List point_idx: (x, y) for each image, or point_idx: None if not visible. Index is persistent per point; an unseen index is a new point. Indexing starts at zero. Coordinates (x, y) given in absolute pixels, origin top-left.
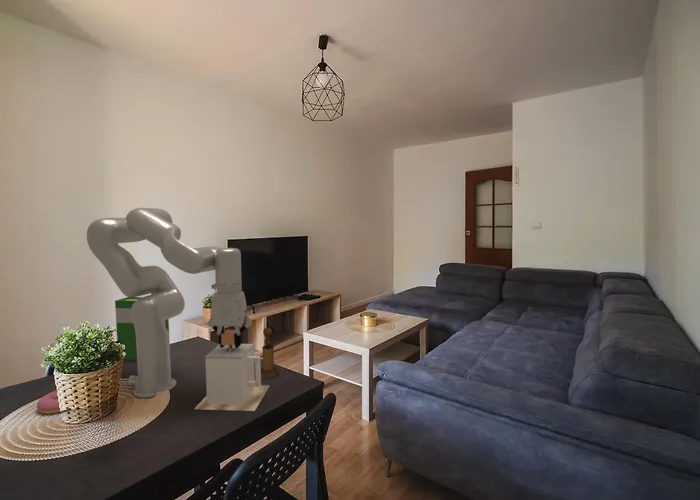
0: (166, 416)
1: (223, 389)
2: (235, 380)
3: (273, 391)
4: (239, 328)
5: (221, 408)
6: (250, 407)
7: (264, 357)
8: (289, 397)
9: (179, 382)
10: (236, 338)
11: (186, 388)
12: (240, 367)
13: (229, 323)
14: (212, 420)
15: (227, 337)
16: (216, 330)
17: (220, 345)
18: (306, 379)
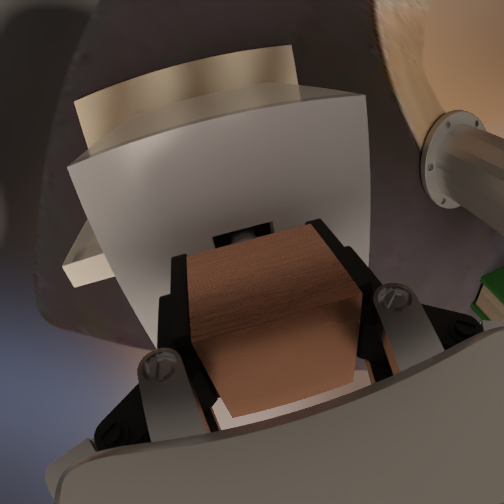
0: (353, 19)
1: (207, 98)
2: (146, 119)
3: None
4: (150, 427)
5: (195, 69)
6: (99, 112)
7: None
8: (46, 229)
9: (422, 204)
10: (173, 314)
11: (392, 178)
12: (101, 143)
13: (266, 474)
14: (193, 19)
15: (270, 287)
16: (432, 318)
17: (322, 225)
18: (79, 327)
